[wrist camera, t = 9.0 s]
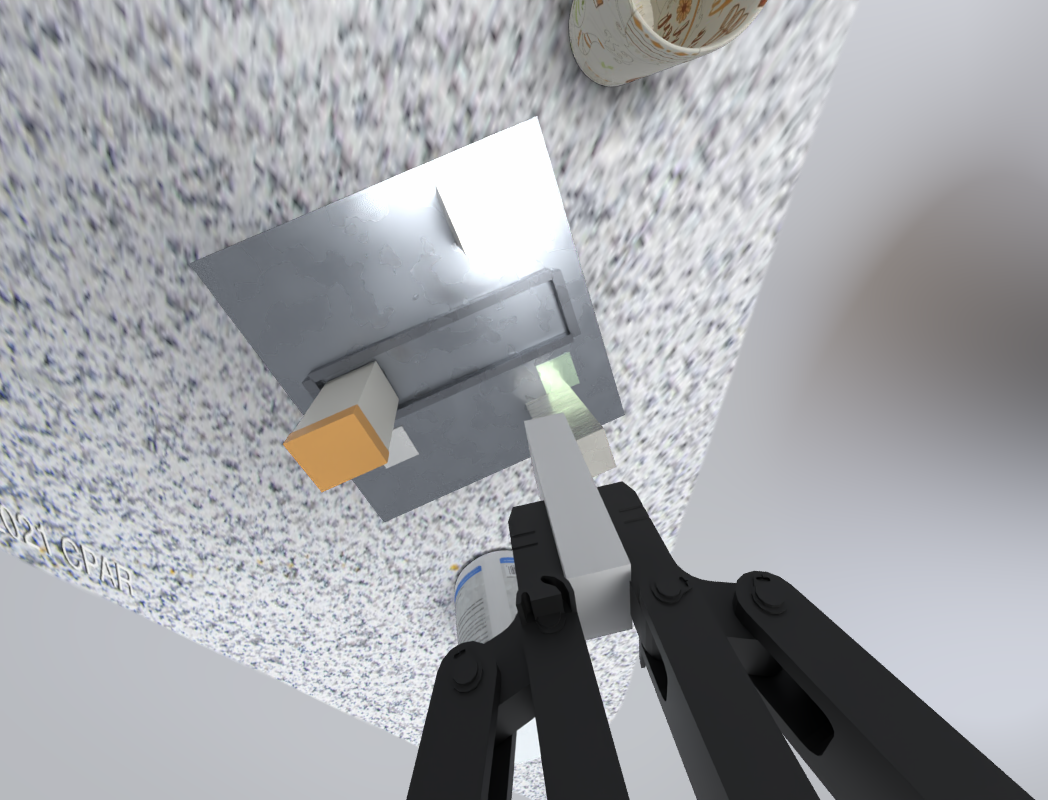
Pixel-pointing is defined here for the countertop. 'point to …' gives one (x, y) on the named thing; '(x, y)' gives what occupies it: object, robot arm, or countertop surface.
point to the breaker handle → (346, 428)
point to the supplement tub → (492, 619)
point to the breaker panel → (435, 313)
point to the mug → (651, 34)
